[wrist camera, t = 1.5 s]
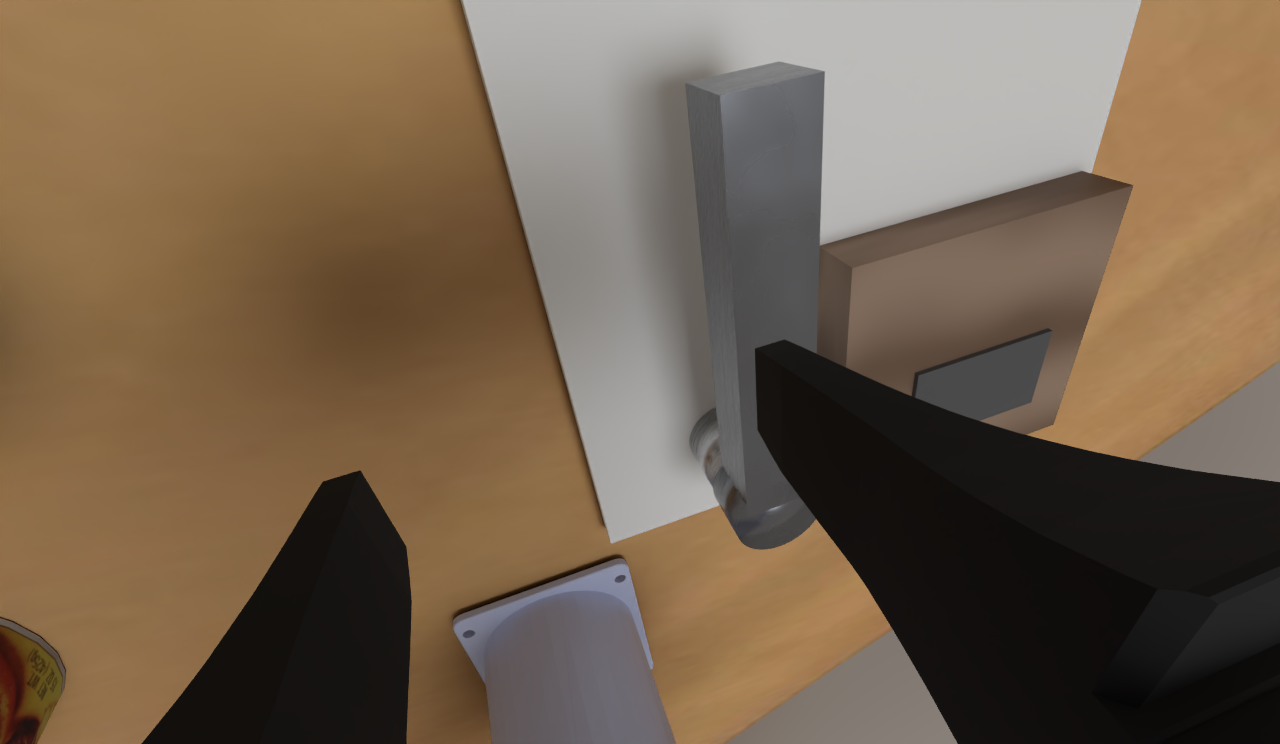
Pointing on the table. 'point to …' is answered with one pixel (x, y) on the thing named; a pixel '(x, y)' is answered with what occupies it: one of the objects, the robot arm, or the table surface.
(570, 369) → the plate
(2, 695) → the canned food
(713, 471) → the post
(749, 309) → the bar
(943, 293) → the door slab
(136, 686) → the table surface
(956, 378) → the pad
